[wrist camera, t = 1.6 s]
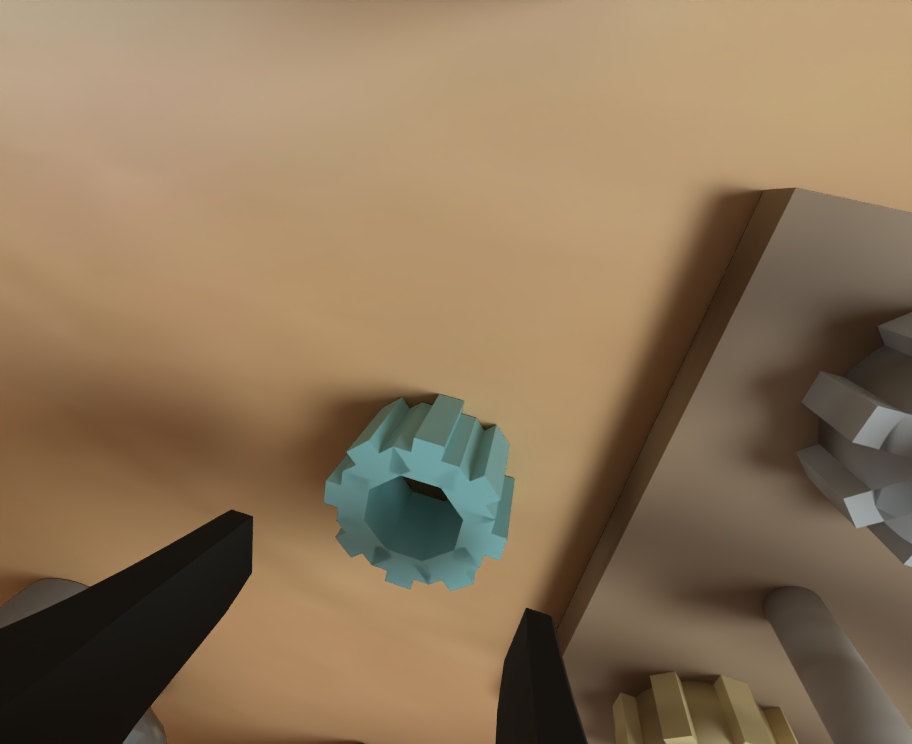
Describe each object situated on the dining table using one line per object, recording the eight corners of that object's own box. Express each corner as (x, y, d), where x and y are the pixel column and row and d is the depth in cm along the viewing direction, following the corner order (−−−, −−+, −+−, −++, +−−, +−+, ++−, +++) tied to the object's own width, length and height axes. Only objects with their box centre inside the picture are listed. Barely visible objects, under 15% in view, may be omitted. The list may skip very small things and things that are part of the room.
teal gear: (492, 546, 17) (480, 613, 14) (354, 501, 17) (317, 557, 14) (533, 421, 14) (530, 472, 11) (373, 374, 15) (333, 413, 12)
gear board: (771, 787, 18) (867, 1036, 13) (524, 698, 19) (515, 892, 14) (1269, 299, 9) (2257, 431, 4) (764, 189, 11) (992, 173, 5)
